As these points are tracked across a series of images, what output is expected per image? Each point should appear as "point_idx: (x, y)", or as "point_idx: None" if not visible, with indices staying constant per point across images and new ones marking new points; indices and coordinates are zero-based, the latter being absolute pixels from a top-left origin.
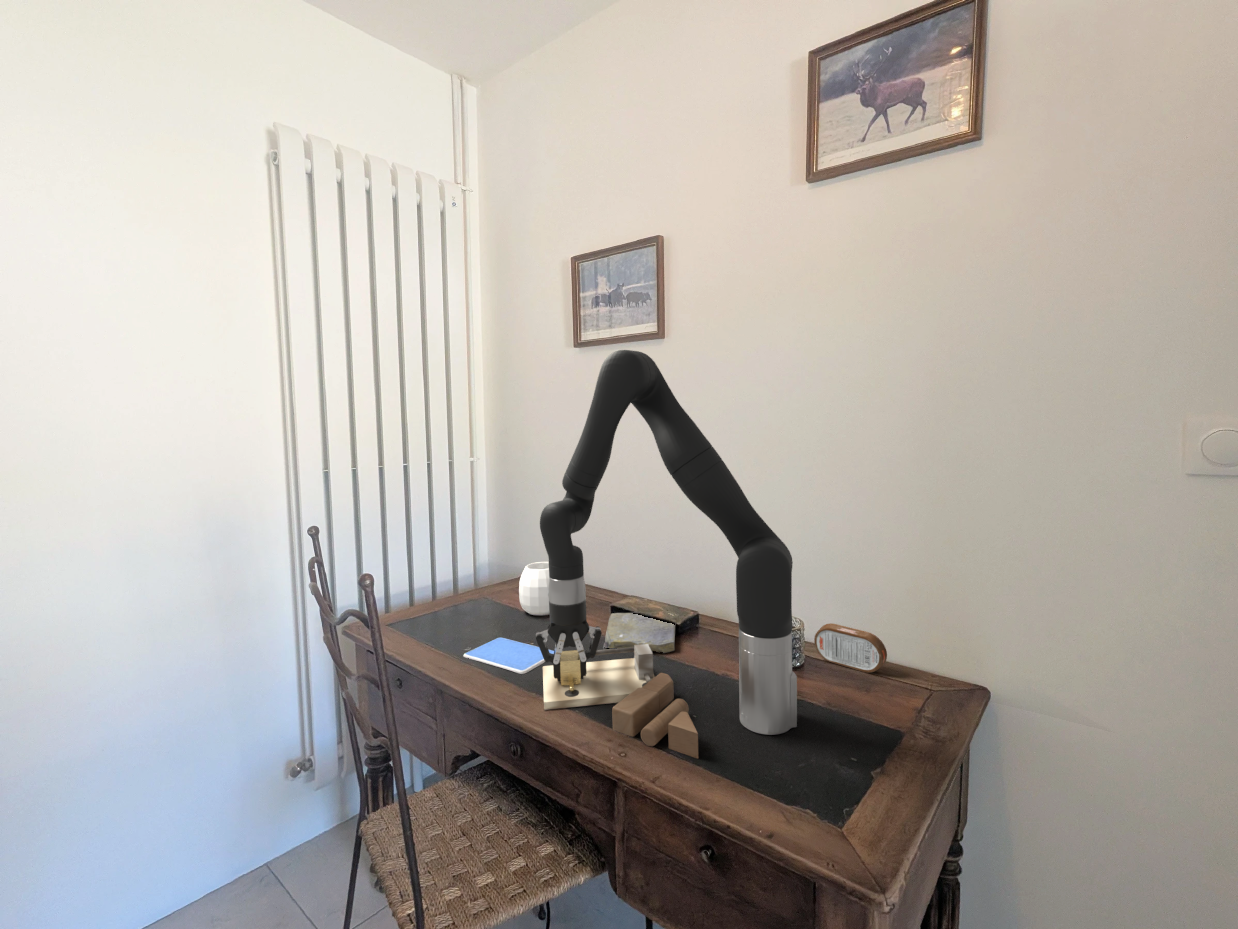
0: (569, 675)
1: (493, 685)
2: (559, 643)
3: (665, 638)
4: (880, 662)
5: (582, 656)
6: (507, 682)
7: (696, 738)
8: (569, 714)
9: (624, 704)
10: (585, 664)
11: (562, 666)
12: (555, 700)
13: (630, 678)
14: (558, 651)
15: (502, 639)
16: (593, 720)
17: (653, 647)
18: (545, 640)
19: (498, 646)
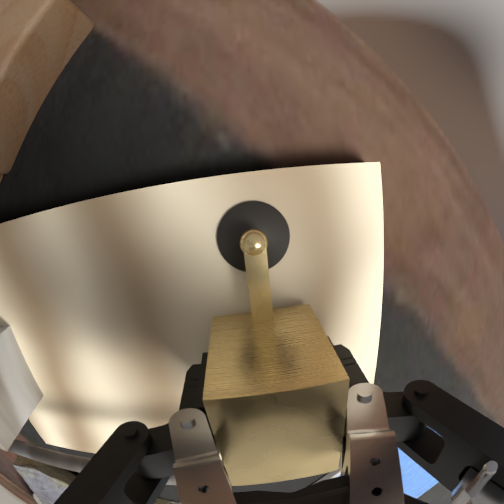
0: (272, 335)
1: (483, 339)
2: (390, 493)
3: (35, 482)
4: None
5: (191, 434)
6: (454, 359)
7: None
8: (256, 113)
9: (12, 21)
10: (184, 403)
11: (325, 361)
12: (330, 172)
13: (33, 339)
14: (377, 440)
15: (412, 496)
16: (153, 67)
17: (51, 471)
18: (487, 473)
19: (428, 479)
